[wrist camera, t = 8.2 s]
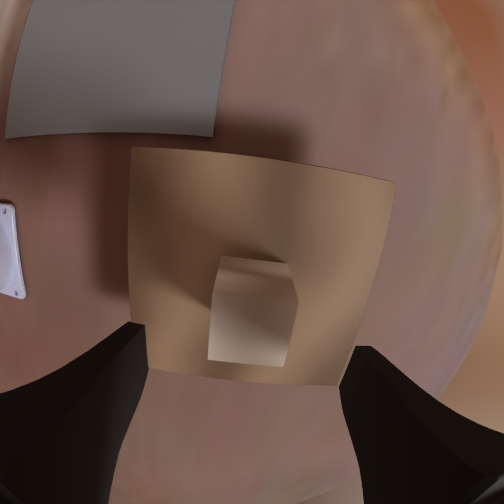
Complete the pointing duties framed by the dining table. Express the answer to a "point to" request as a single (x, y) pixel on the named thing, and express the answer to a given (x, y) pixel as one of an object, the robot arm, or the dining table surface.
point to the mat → (119, 67)
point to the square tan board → (251, 263)
